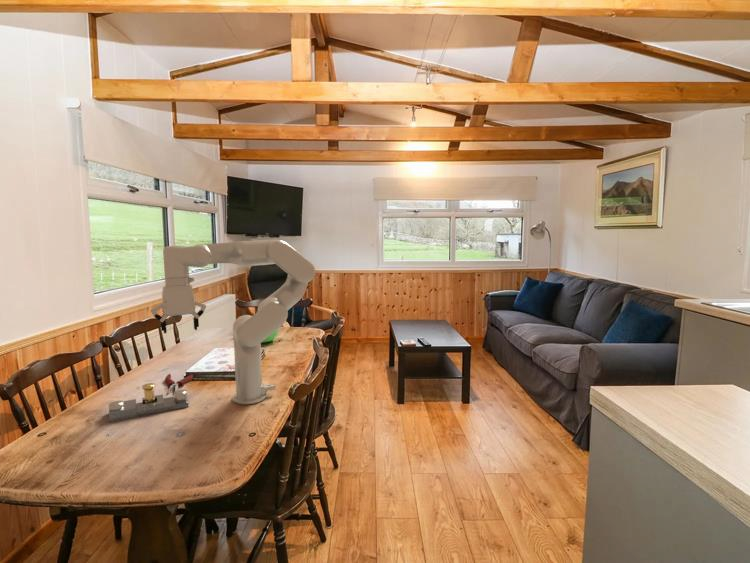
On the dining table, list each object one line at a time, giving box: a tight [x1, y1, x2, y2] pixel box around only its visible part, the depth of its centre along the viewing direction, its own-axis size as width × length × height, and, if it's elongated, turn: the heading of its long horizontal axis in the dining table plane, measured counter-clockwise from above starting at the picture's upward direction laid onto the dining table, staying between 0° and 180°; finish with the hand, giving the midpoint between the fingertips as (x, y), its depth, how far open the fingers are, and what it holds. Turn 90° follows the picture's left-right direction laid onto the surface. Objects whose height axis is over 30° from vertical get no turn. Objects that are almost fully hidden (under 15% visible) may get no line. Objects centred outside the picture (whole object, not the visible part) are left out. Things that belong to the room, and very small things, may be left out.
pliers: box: [164, 373, 194, 394], centre depth 170 cm, size 12×20×3 cm, turn 14°
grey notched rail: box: [108, 389, 190, 423], centre depth 147 cm, size 24×9×4 cm, turn 119°
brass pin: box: [141, 382, 156, 404], centre depth 147 cm, size 4×4×9 cm
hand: (180, 330), depth 145 cm, fingers open, 9 cm apart
